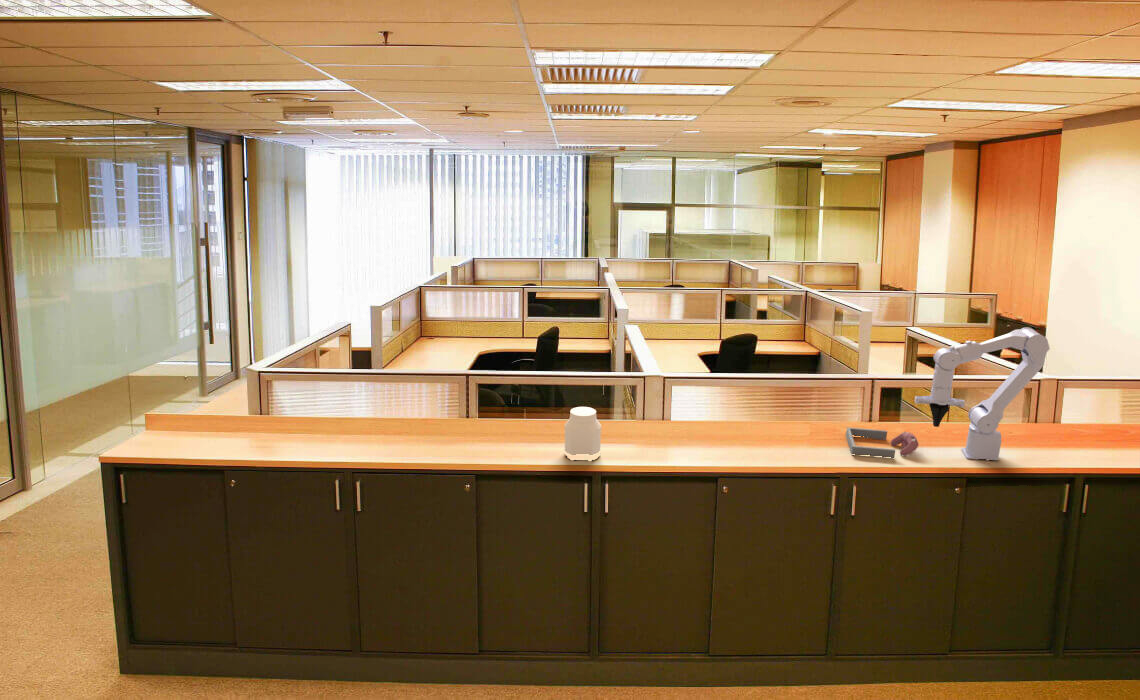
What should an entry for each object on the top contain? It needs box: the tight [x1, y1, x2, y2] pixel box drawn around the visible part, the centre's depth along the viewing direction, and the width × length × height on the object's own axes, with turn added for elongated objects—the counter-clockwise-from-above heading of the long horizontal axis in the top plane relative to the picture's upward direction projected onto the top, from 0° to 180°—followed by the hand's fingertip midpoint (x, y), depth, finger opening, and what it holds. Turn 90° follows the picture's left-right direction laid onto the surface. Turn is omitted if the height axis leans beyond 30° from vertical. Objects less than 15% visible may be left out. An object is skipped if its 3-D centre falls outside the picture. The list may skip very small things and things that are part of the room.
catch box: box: [845, 426, 896, 459], centre depth 269 cm, size 13×17×3 cm
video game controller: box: [890, 431, 920, 456], centre depth 267 cm, size 10×5×7 cm, turn 179°
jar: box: [564, 406, 602, 455], centre depth 259 cm, size 12×10×15 cm
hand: (935, 425), depth 263 cm, fingers closed
